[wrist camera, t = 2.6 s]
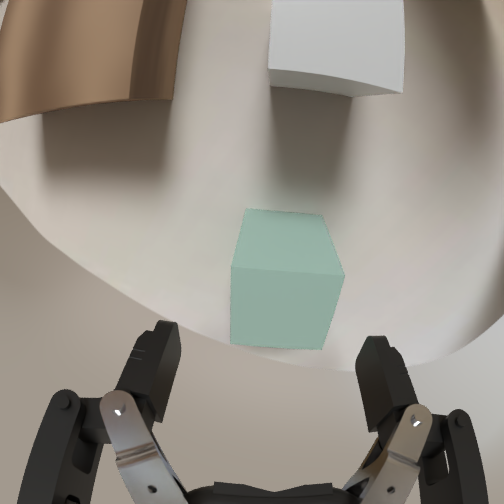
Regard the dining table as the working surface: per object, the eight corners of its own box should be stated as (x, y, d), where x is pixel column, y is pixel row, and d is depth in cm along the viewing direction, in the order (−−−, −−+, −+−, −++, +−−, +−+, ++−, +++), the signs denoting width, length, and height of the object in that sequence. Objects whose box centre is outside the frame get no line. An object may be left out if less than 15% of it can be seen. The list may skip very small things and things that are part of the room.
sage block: (321, 215, 18) (344, 275, 12) (310, 277, 20) (321, 349, 14) (246, 208, 18) (231, 266, 12) (243, 272, 20) (230, 343, 14)
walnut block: (200, -48, 9) (173, -90, 4) (174, 99, 15) (129, 98, 10) (64, -12, 9) (17, -24, 4) (44, 113, 15) (-10, 126, 10)
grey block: (356, 26, 11) (402, -12, 5) (352, 97, 14) (402, 93, 8) (274, 14, 11) (273, -39, 5) (269, 85, 14) (267, 68, 8)
